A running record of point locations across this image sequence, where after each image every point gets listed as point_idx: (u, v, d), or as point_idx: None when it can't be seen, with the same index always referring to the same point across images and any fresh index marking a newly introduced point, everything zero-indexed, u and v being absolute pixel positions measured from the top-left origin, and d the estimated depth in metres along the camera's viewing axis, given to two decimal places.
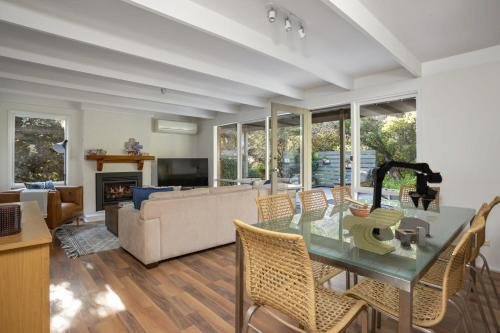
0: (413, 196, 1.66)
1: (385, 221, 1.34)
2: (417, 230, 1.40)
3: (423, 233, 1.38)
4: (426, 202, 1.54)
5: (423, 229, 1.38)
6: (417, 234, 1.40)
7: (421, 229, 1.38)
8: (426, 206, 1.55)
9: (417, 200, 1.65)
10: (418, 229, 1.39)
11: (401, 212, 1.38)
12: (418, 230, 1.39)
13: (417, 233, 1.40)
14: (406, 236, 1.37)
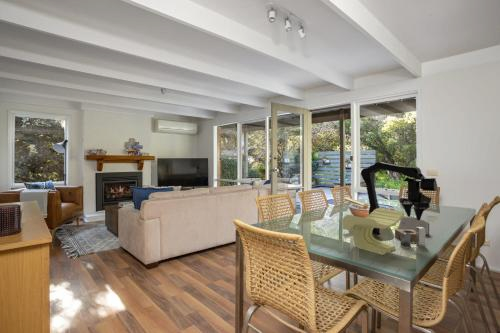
0: (405, 204, 1.51)
1: (385, 221, 1.34)
2: (417, 230, 1.40)
3: (423, 233, 1.38)
4: (419, 211, 1.40)
5: (423, 229, 1.38)
6: (417, 234, 1.40)
7: (421, 229, 1.38)
8: (419, 215, 1.40)
9: (409, 208, 1.50)
10: (418, 229, 1.39)
11: (401, 212, 1.38)
12: (418, 230, 1.39)
13: (417, 233, 1.40)
14: (406, 236, 1.37)
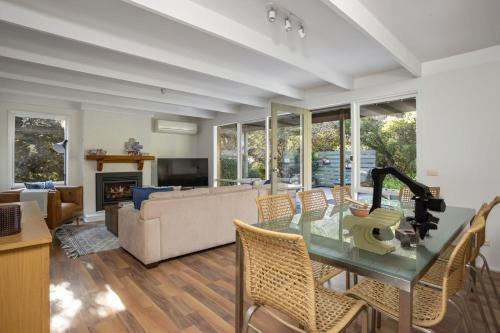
0: (414, 224, 1.42)
1: (385, 221, 1.34)
2: (417, 230, 1.40)
3: None
4: (423, 230, 1.37)
5: None
6: (417, 234, 1.40)
7: None
8: (423, 235, 1.37)
9: None
10: None
11: (401, 212, 1.38)
12: None
13: (417, 233, 1.40)
14: (406, 236, 1.37)
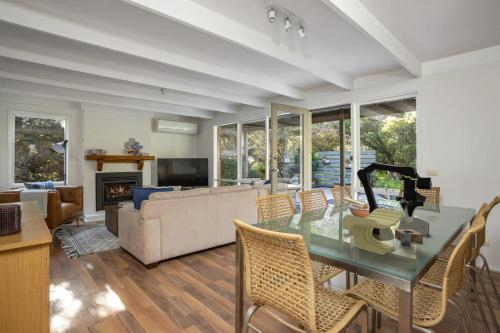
0: (403, 203, 1.52)
1: (385, 221, 1.34)
2: (406, 208, 1.50)
3: None
4: (411, 208, 1.46)
5: None
6: (406, 212, 1.50)
7: None
8: (411, 212, 1.47)
9: None
10: None
11: (401, 212, 1.38)
12: (406, 208, 1.49)
13: (406, 211, 1.50)
14: (406, 236, 1.37)
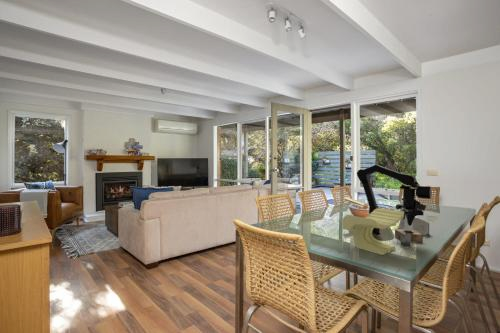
0: (403, 211, 1.52)
1: (385, 221, 1.34)
2: (405, 216, 1.50)
3: None
4: (410, 216, 1.47)
5: None
6: (405, 220, 1.50)
7: None
8: (410, 221, 1.47)
9: None
10: None
11: (401, 212, 1.38)
12: None
13: (405, 219, 1.50)
14: (406, 236, 1.37)
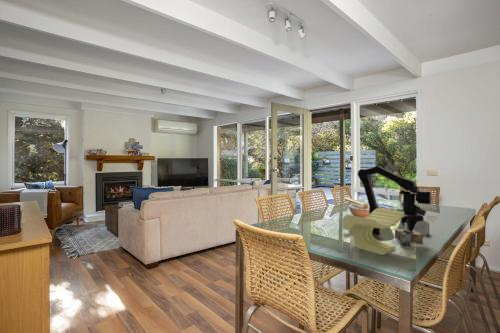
0: None
1: (385, 221, 1.34)
2: (405, 225, 1.50)
3: None
4: (412, 222, 1.45)
5: None
6: (405, 229, 1.50)
7: None
8: (412, 227, 1.46)
9: (406, 220, 1.53)
10: (406, 224, 1.49)
11: (401, 212, 1.38)
12: (406, 225, 1.49)
13: (405, 228, 1.50)
14: (406, 236, 1.37)
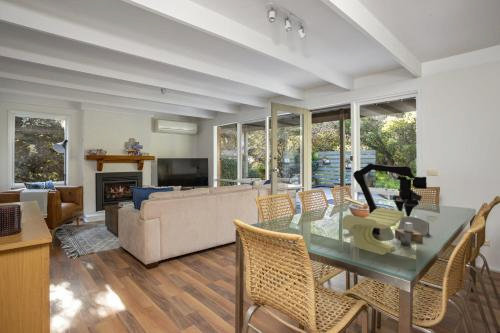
0: (397, 201, 1.59)
1: (385, 221, 1.34)
2: (405, 225, 1.50)
3: (411, 228, 1.48)
4: (409, 207, 1.47)
5: (411, 224, 1.48)
6: (405, 229, 1.50)
7: (409, 224, 1.48)
8: (409, 212, 1.48)
9: (401, 205, 1.58)
10: (406, 224, 1.49)
11: (401, 212, 1.38)
12: (406, 225, 1.49)
13: (405, 228, 1.50)
14: (406, 236, 1.37)
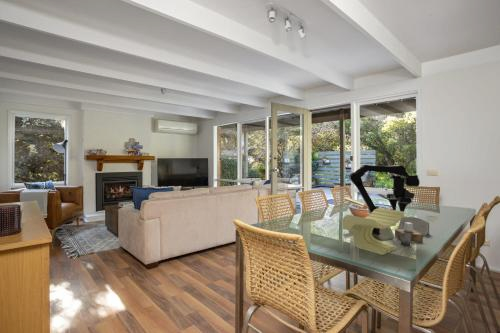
0: (391, 199, 1.65)
1: (385, 221, 1.34)
2: (405, 225, 1.50)
3: (411, 228, 1.48)
4: (402, 205, 1.54)
5: (411, 224, 1.48)
6: (405, 229, 1.50)
7: (409, 224, 1.48)
8: (402, 209, 1.54)
9: (395, 203, 1.64)
10: (406, 224, 1.49)
11: (401, 212, 1.38)
12: (406, 225, 1.49)
13: (405, 228, 1.50)
14: (406, 236, 1.37)
